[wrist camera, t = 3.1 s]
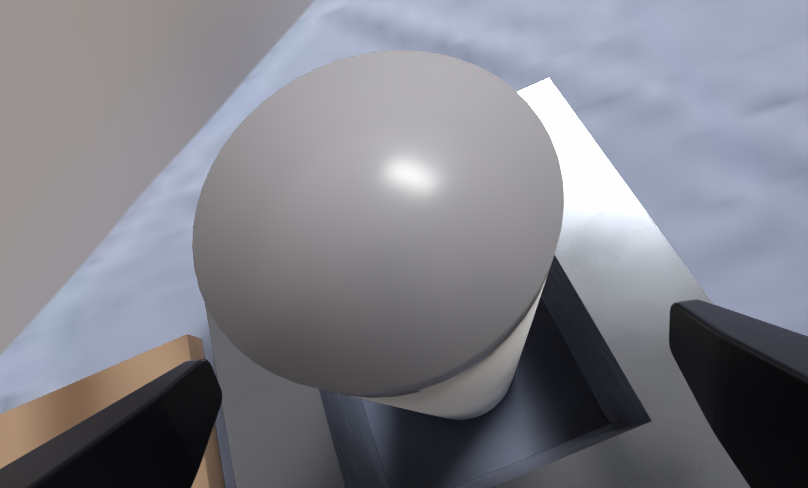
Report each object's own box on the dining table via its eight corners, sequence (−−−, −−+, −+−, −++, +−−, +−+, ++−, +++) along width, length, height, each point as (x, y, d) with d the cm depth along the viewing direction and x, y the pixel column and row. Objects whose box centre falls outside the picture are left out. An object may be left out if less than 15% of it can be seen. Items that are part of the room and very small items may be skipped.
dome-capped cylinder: (424, 438, 16) (226, 464, 4) (385, 328, 18) (172, 132, 6) (536, 392, 16) (653, 284, 4) (484, 286, 18) (462, 3, 6)
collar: (341, 649, 14) (278, 739, 10) (254, 273, 20) (192, 232, 16) (751, 484, 14) (860, 506, 10) (537, 150, 20) (548, 77, 16)
